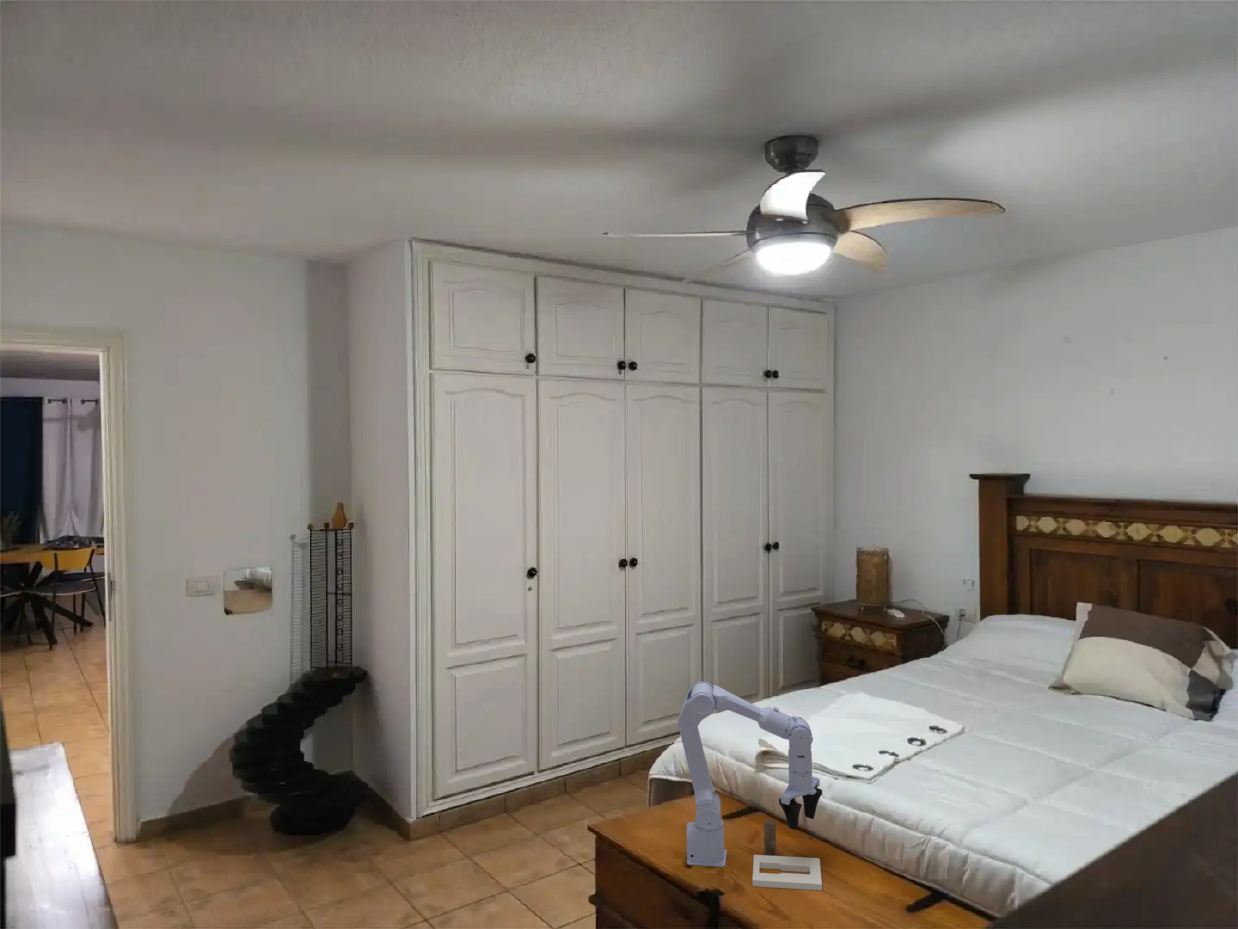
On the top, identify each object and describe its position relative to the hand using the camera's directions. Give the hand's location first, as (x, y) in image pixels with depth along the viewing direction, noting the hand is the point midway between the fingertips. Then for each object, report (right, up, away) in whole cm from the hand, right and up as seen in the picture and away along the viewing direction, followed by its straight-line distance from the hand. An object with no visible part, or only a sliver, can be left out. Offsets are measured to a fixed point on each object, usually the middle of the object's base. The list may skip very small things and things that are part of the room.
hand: (801, 823), depth 208 cm
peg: (-7, -10, +4) cm, 13 cm away
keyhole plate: (-5, -10, -6) cm, 13 cm away
